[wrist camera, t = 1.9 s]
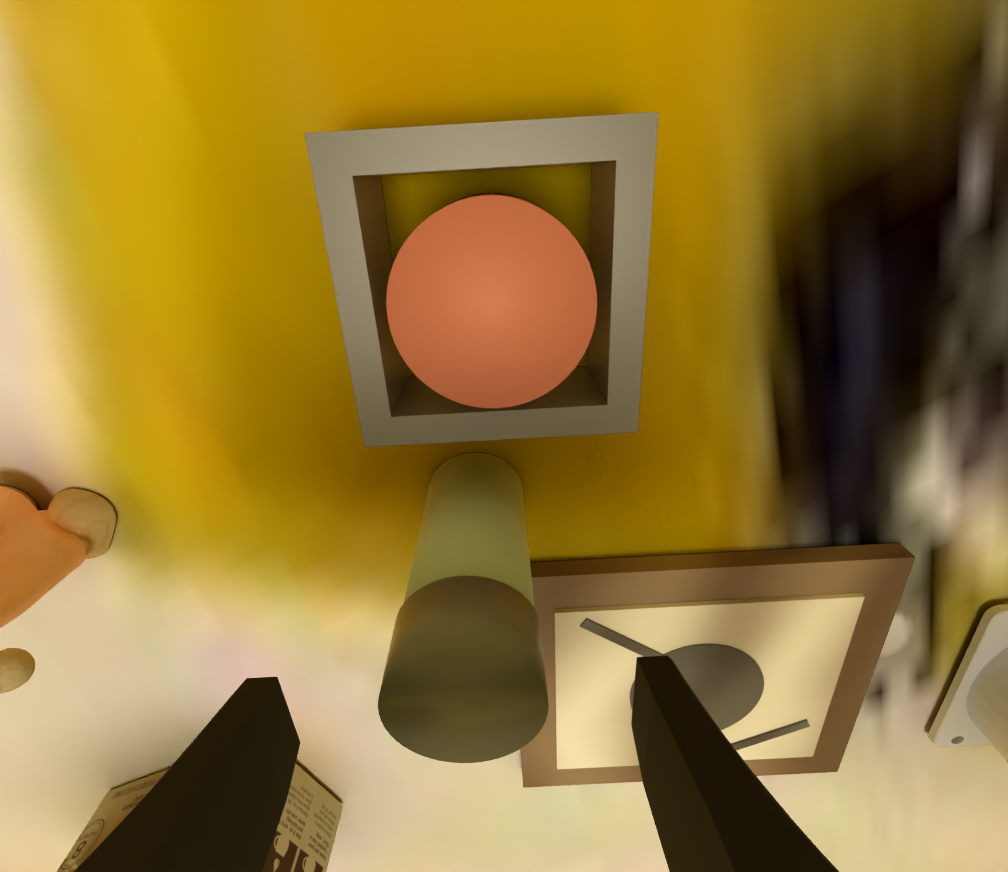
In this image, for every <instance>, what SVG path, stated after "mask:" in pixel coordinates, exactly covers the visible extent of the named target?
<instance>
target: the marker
mask: <svg viewBox="0 0 1008 872" xmlns="http://www.w3.org/2000/svg"><path fill="white" fill-rule="evenodd" d="M548 708H549V704H548V694H547V685H546V675H545V665H544V656H543V646H542V637H541V627H540V620H539V617H538V614H537V612H536V610H535V608H534V598H533V588H532V577H531V567H530V556H529V545H528V535H527V524H526V514H525V503H524V493H523V485H522V482H521V479H520V477H519V475H518V474H517V472H516V471H515V470H514V469H513V467H512V466H510V465H509V464H508V463H507V462H505V461H504V460H502V459H500V458H499V457H496V456H494V455H491V454H487V453H480V452H471V453H464V454H460V455H457V456H454V457H452V458H450V459H448V460H447V461H445V462H444V463H443V464H441V465H440V466H439V467H438V468H437V470H436V471H435V472H434V474H433V476H432V478H431V480H430V483H429V487H428V492H427V497H426V502H425V506H424V511H423V516H422V520H421V525H420V530H419V535H418V539H417V544H416V549H415V554H414V558H413V563H412V568H411V572H410V577H409V582H408V587H407V591H406V596H405V601H404V604H403V605H402V607H401V608H400V610H399V613H398V615H397V618H396V622H395V627H394V631H393V636H392V640H391V645H390V649H389V654H388V658H387V663H386V667H385V672H384V676H383V681H382V685H381V690H380V694H379V699H378V710H379V715H380V718H381V721H382V723H383V725H384V727H385V729H386V730H387V731H388V732H389V734H390V735H391V736H392V737H393V738H394V739H395V740H396V741H397V742H399V743H400V744H401V745H403V746H404V747H406V748H408V749H409V750H411V751H413V752H415V753H417V754H420V755H422V756H425V757H428V758H432V759H436V760H440V761H446V762H455V763H473V762H483V761H488V760H493V759H497V758H500V757H503V756H506V755H508V754H511V753H513V752H515V751H517V750H519V749H520V748H522V747H524V746H525V745H527V744H528V743H529V742H530V741H531V740H533V739H534V738H535V736H536V735H537V734H538V733H539V732H540V730H541V729H542V727H543V726H544V724H545V721H546V719H547V715H548Z"/></svg>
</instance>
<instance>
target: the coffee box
mask: <svg viewBox="0 0 1008 872" xmlns="http://www.w3.org/2000/svg"><path fill="white" fill-rule="evenodd" d="M167 771H168V769H167V770H164V771H161V772H159V773H156V774H153V775H150V776H148V777H145V778H142V779H139V780H136V781H134V782H131V783H128V784H126V785H123V786H120V787H118V788H115V789H113V790H111V791H109V792H108V793H107V794H106V796H105V797H104V799H103V800H102V802H101V803H100V805H99V807H98V808H97V810H96V811H95V813H94V814H93V816H92V818H91V819H90V821H89V822H88V824H87V825H86V827H85V829H84V830H83V832H82V833H81V835H80V836H79V838H78V839H77V841H76V843H75V844H74V846H73V847H72V849H71V851H70V852H69V854H68V855H67V857H66V858H65V860H64V861H63V863H62V864H61V866H60V867H59V869H58V871H57V872H73V871H74V870H75V869H76V868H77V867H78V866H79V865H80V864H81V863H82V862H83V861H84V860H85V859H86V858H87V857H88V856H89V855H90V854H91V853H92V852H93V851H94V850H95V849H96V848H97V847H98V846H99V845H100V844H101V843H102V842H103V840H104V839H105V838H106V837H107V836H108V835H109V834H110V833H111V832H112V831H113V830H114V829H115V828H116V827H117V826H118V824H119V823H120V822H121V821H122V820H123V819H124V818H125V817H126V816H127V815H128V814H129V813H130V812H131V811H132V810H133V809H134V807H135V806H136V805H137V804H138V803H139V802H140V801H141V800H142V799H143V798H144V797H145V795H146V794H147V793H148V792H149V791H150V790H151V789H152V788H153V786H154V785H155V784H156V783H157V782H158V781H159V780H160V779H161V777H162V776H163V775H164V774H165V773H166V772H167ZM341 811H342V804H341V803H340V802H339V801H338V800H337V799H336V798H334V797H333V796H332V795H331V794H330V793H329V792H328V791H326V790H325V789H324V788H323V787H322V786H321V785H320V784H318V783H317V782H316V781H315V780H314V779H313V778H312V777H311V776H310V775H308V774H307V773H306V772H305V771H304V770H303V769H302V768H301V767H299V766H298V765H297V764H296V763H295V768H294V772H293V777H292V781H291V785H290V789H289V793H288V797H287V801H286V804H285V807H284V810H283V813H282V816H281V819H280V821H279V824H278V827H277V830H276V833H275V836H274V839H273V842H272V845H271V848H270V850H269V853H268V856H267V859H266V862H265V865H264V867H263V870H262V872H326V870H327V866H328V862H329V858H330V854H331V851H332V847H333V843H334V839H335V835H336V831H337V827H338V823H339V819H340V815H341Z"/></svg>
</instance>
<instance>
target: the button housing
mask: <svg viewBox="0 0 1008 872" xmlns="http://www.w3.org/2000/svg"><path fill="white" fill-rule="evenodd" d="M658 115H659V112H650V113H633V114H616V115H600V116H583V117H566V118H550V119H533V120H516V121H500V122H483V123H466V124H450V125H433V126H416V127H399V128H383V129H366V130H349V131H333V132H316V133H305V138H306V143H307V149H308V154H309V159H310V164H311V170H312V175H313V180H314V185H315V191H316V196H317V201H318V206H319V211H320V217H321V222H322V227H323V232H324V238H325V243H326V248H327V253H328V259H329V264H330V269H331V274H332V280H333V285H334V290H335V295H336V301H337V306H338V311H339V316H340V322H341V327H342V332H343V337H344V343H345V348H346V353H347V358H348V364H349V369H350V374H351V379H352V384H353V390H354V395H355V400H356V405H357V411H358V416H359V421H360V426H361V432H362V437H363V442H364V447H378V446H396V445H414V444H432V443H451V442H469V441H487V440H505V439H523V438H541V437H560V436H578V435H596V434H614V433H632V432H638V422H639V407H640V391H641V376H642V361H643V345H644V330H645V315H646V299H647V284H648V269H649V253H650V238H651V223H652V207H653V192H654V177H655V161H656V146H657V131H658ZM582 164H592V181H591V236H590V266H591V269H592V272H593V276H594V279H595V285H596V291H597V313H596V321H595V326H594V330H593V334H592V337H591V340H590V342H589V347H588V366H586V367H575V369H574V370H573V371H572V372H571V373H570V374H569V375H568V377H567V378H566V379H564V380H563V381H562V382H561V383H560V384H559V385H558V386H556V387H555V388H554V389H552V390H551V391H549V392H548V393H546V394H544V395H542V396H540V397H539V398H537V399H535V400H532V401H529V402H527V403H524V404H520V405H516V406H512V407H505V408H480V407H473V406H469V405H465V404H461V403H458V402H455V401H453V400H450V399H448V398H446V397H444V396H442V395H440V394H438V393H437V392H435V391H434V390H433V389H431V388H430V387H428V386H427V385H426V384H425V383H423V382H422V381H421V380H420V379H419V378H418V377H417V376H408V369H407V364H406V363H405V361H404V360H403V358H402V357H401V355H400V353H399V351H398V349H397V347H396V345H395V343H394V340H393V337H392V334H391V331H390V327H389V322H388V318H387V307H386V299H387V286H388V281H389V276H390V272H391V269H392V266H393V262H392V255H391V248H390V240H389V233H388V226H387V219H386V212H385V205H384V198H383V190H382V183H381V176H396V175H413V174H430V173H447V172H464V171H481V170H498V169H515V168H532V167H548V166H565V165H582Z"/></svg>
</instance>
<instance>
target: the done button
mask: <svg viewBox="0 0 1008 872" xmlns="http://www.w3.org/2000/svg"><path fill="white" fill-rule="evenodd" d="M386 307H387V318H388V322H389V327H390V331H391V334H392V337H393V340H394V343H395V345H396V347H397V349H398V351H399V353H400V355H401V357H402V358H403V360H404V361H405V363H406V364H407V366H408V367H409V368H410V369H411V370H412V372H413V373H414V374H415V375H416V376H417V377H418V378H419V379H420V380H421V381H422V382H423V383H425V384H426V385H427V386H428V387H430V388H431V389H433V390H434V391H435V392H437V393H438V394H440V395H442V396H444V397H446V398H448V399H450V400H453V401H455V402H458V403H461V404H465V405H469V406H473V407H480V408H505V407H512V406H516V405H520V404H524V403H527V402H529V401H532V400H535V399H537V398H539V397H540V396H542V395H544V394H546V393H548V392H549V391H551V390H552V389H554V388H555V387H556V386H558V385H559V384H560V383H561V382H562V381H563V380H564V379H566V378H567V377H568V375H569V374H570V373H571V372H572V371H573V370H574V369H575V367H576V366H577V364H578V363H579V361H580V360H581V358H582V357H583V355H584V353H585V351H586V349H587V347H588V345H589V342H590V340H591V337H592V334H593V330H594V326H595V321H596V313H597V291H596V285H595V279H594V276H593V272H592V269H591V266H590V263H589V261H588V259H587V257H586V255H585V253H584V251H583V249H582V248H581V246H580V244H579V243H578V241H577V240H576V238H575V237H574V236H573V235H572V234H571V233H570V231H569V230H568V229H567V228H566V227H565V226H564V225H563V224H561V223H560V222H559V221H558V220H557V219H556V218H554V217H553V216H551V215H550V214H548V213H547V212H545V211H544V210H542V209H541V208H539V207H538V206H536V205H534V204H533V203H530V202H528V201H526V200H524V199H521V198H518V197H515V196H512V195H506V194H500V193H484V194H477V195H472V196H468V197H465V198H462V199H459V200H457V201H455V202H453V203H451V204H449V205H447V206H445V207H444V208H442V209H440V210H439V211H437V212H435V213H434V214H432V215H431V216H429V217H428V218H427V219H426V220H424V221H423V222H422V223H421V224H420V225H419V226H418V227H417V228H416V229H415V230H414V231H413V232H412V233H411V234H410V236H409V237H408V238H407V240H406V241H405V243H404V244H403V246H402V247H401V249H400V250H399V252H398V255H397V257H396V259H395V261H394V263H393V266H392V269H391V272H390V276H389V281H388V286H387V299H386Z"/></svg>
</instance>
